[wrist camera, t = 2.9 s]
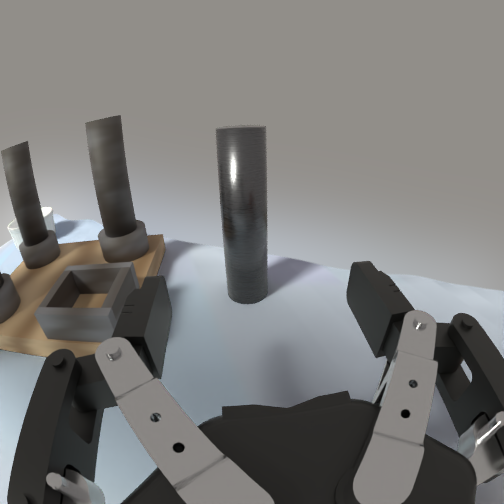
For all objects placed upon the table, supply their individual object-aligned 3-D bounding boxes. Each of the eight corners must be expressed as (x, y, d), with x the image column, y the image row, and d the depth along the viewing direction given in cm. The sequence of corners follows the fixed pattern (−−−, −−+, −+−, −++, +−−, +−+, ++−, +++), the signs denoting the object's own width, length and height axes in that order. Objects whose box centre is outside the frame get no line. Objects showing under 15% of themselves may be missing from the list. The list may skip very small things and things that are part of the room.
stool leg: (228, 305, 24) (214, 130, 17) (227, 281, 27) (216, 126, 20) (269, 302, 24) (269, 128, 17) (264, 278, 27) (262, 124, 20)
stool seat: (-23, 344, 17) (-86, 195, 9) (41, 259, 32) (12, 147, 24) (130, 363, 18) (59, 126, 10) (165, 249, 33) (146, 110, 25)
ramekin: (31, 231, 41) (25, 210, 39) (67, 226, 42) (60, 203, 40) (6, 255, 33) (-2, 231, 31) (43, 251, 34) (34, 225, 32)
